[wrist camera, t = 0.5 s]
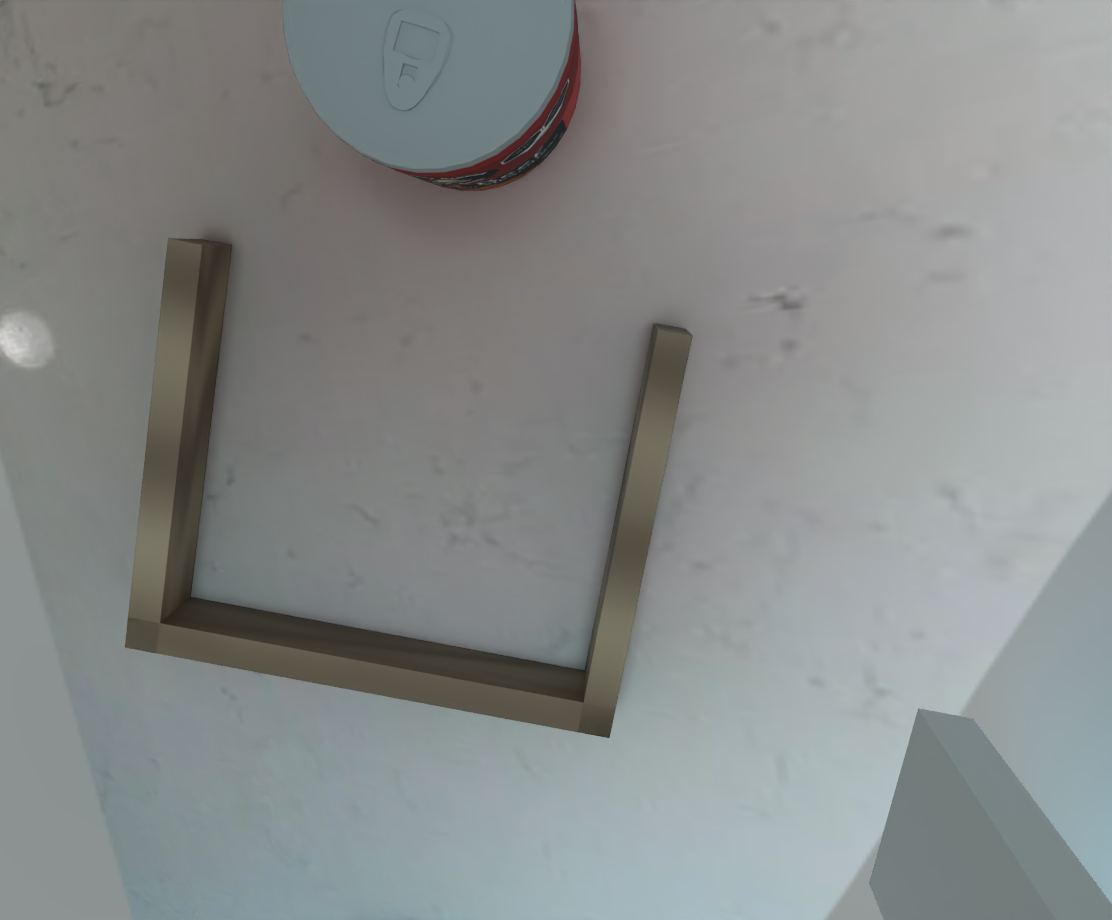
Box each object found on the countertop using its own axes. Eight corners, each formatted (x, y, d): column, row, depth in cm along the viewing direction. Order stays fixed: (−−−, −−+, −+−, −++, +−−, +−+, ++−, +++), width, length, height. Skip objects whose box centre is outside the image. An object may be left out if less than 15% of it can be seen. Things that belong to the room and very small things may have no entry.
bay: (200, 239, 40) (168, 238, 37) (685, 329, 40) (692, 335, 37) (157, 620, 43) (124, 647, 40) (608, 704, 43) (609, 738, 40)
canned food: (369, 190, 39) (281, 168, 28) (368, -43, 38) (275, -160, 27) (578, 196, 39) (569, 176, 28) (585, -39, 37) (579, -155, 27)
